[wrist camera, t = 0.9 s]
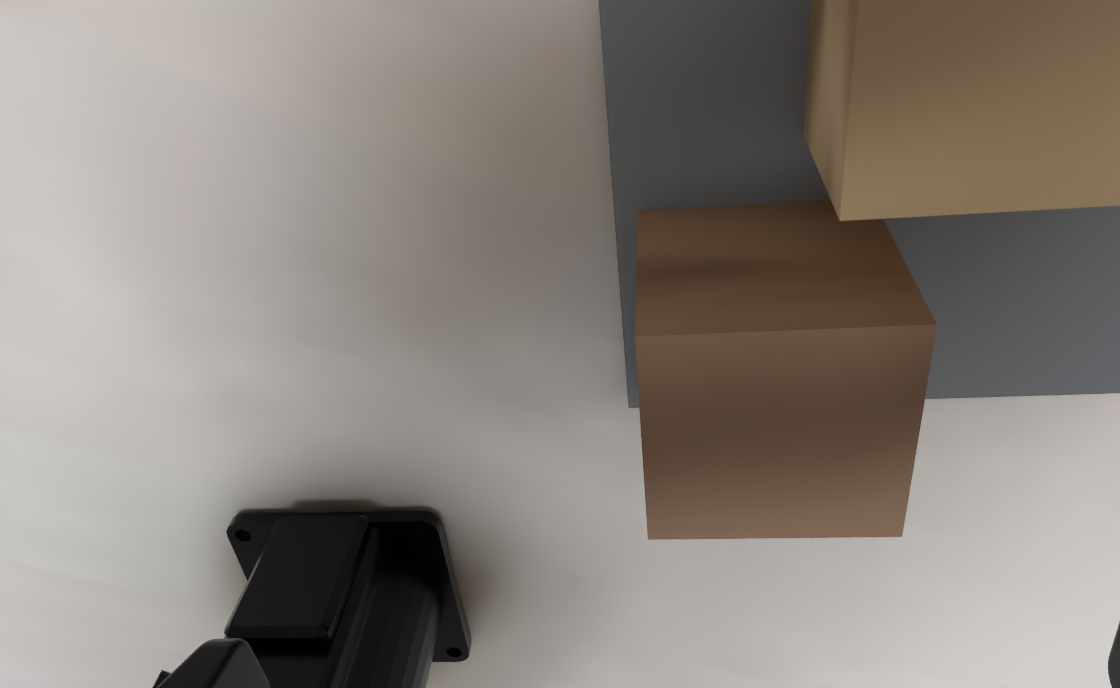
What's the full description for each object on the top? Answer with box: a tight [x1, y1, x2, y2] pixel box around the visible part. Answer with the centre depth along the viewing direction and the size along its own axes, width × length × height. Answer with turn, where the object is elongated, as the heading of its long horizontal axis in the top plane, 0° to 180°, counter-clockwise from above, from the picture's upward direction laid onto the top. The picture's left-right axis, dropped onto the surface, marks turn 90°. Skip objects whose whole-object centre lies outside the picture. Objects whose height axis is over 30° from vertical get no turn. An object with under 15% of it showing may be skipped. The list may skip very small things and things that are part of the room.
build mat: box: [599, 0, 1120, 408], centre depth 17 cm, size 16×12×1 cm
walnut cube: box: [635, 200, 937, 539], centre depth 18 cm, size 5×5×5 cm
